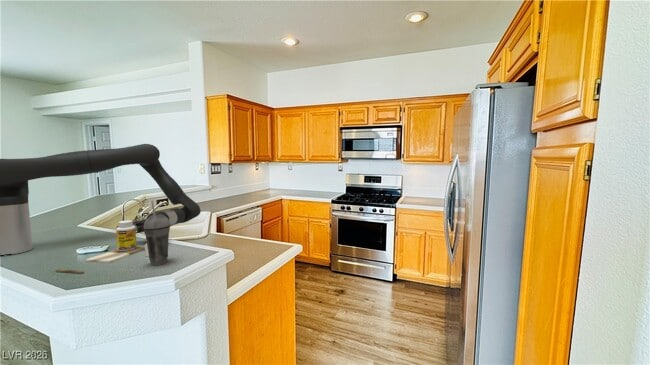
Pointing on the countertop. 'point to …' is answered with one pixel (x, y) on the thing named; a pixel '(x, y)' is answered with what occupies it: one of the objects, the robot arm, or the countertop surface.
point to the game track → (106, 258)
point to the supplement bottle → (126, 236)
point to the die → (146, 250)
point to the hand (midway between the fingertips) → (127, 229)
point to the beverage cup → (157, 237)
